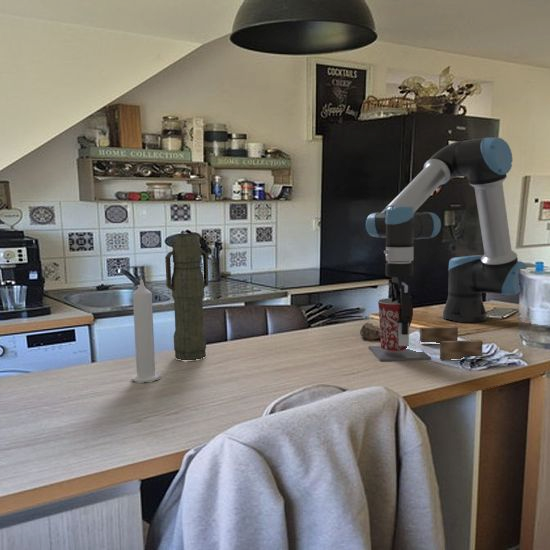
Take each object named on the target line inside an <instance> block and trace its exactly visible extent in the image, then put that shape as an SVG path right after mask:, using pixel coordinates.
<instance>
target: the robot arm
mask: <svg viewBox="0 0 550 550" xmlns="http://www.w3.org/2000/svg"><path fill="white" fill-rule="evenodd" d="M512 163H513V154H512V149H511V147H510V145H509V144H508V142H507V141H506V140H505V139H504V138H502V137H482V138H475V139H467V140H458V141H454V142H452V143H450V144H447V145H446V146H444V147H443V148H441V149H439V150H438V151H437V152H436V153H434V154H433V155H432V156H431V157H430V158H429V159H428V160H426V162H425V163H424V165H423V169H422V170H421V171H420V172H419V173H418V174H417V175H416V176H415V177H414V178H413V179H412V181H411V182H409V183H408V184H407V186H405V187H404V188H403V189H402V191H400V193H399V194H398V195H397V196H396V197H394V199H393V200H392V201H391V202H390V203H389V204H388V205H387V206H386V207H385V208H383V210H382V211H381V212H379V211H378V212H373V213H370V214H369V215H368V216H367V218H366V221H365V229H366V231H367V234H368V235H369V236H370V237H375V238H380V239H383V238H385V250H383V254H385V261H386V262H385V276H386V277H389V278H390V279H388V280H387V281H388V291H387V292H388V293H387V298H392V302H394V301H396V300H397V302H398V304H401V308H400V309H399V319H400V320H398V321H397V323H399V325H398V346H409V345H410V327H409V322H411V323H412V322H413V317H412V314H411V305H412V301H411V300H412V299H411V289H412V286H411V284H408V283H407V278H409V277H413V275H414V264H413V261H414V250H415V249H414V248H415V247H414V240H421V239H422V240H423V239H425V240H429V239H431V238H432V239H433V238H434V237H436V236H438V234H439V233H440V232H441V228H442V222H441V219H440V217H439V216H438V215H437V214H436V213H434V212H428V211H424V212H423V211H422V212H417V210H418V209H419V208H420V207H421V206H422V205H423V204H424V203H425V202H426V201H427V200H428V198H429V197H431V195H432V194H433V193H435V191H436V190H438V188H439V187H440V186H441V185H445V184H447V183H448V182H449V181H450V180H451V179H454V178H460V177H462V178H463V177H467V180H468V184H469V186H471V187H473V188H474V192H475V199H476V200H475V201H476V205H477V206H476V207H477V213H478V221H479V226H480V233H481V239H482V246H483V252H484V253H483V255H481V254H480V255H479V254H478V255H476V254H475V255H468V256H467V255H466V256H465V255H464V256H459V257H458V256H457V257H452V258H450V259H449V262H448V268H447V271H448V277H447V278H448V279H447V280H448V282H447V283H448V285H447V286H448V289H447V291H448V292H447V293H448V295H447V300H446V302H445V306H444V308H443V311H442V319H444V318H445V319H444V320H446V319H449V320H453V321H452V322H455V321H458V322H457V323H481V322H485V321H487V311H486V308H485V305H484V301H483V297H482V296H483V294H484V293H485V294H494V295H502V296H516V295H518V294H519V293H520V292H521V291H520V285H519V279H518V274H519V270H520V269H527V266H526V264H525V262H523V261H521V260H520V261H519V259H518V254H517V252H515V251H513V250H512V244H511V238H510V237H511V236H510V229H509V222H508V215H507V207H506V206H507V205H506V199H505V193H504V185H503V183H504V181H505V180H506V179H507V174H509V172H510V171H511V169H512V167H513V164H512ZM449 320H448V321H449Z"/></svg>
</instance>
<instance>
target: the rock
mask: <svg viewBox="0 0 550 550" xmlns="http://www.w3.org/2000/svg"><path fill="white" fill-rule="evenodd" d="M359 334H360V337H362V338H364V339H365V340H369V341H374V340H378V339H381V338H380V326H376V325H374V324H373V323H369V322H366V323H364V324H363V325H362V326H361V329H360V331H359Z"/></svg>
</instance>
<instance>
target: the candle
mask: <svg viewBox="0 0 550 550" xmlns="http://www.w3.org/2000/svg"><path fill="white" fill-rule="evenodd" d="M132 308H133V325H134V328H133V329H134V343H135V344H134V345H135V348H134V349H135V364H136V365H135V366H136V373H135V374H133V375H132V376H131V381H132V380H133V381H135V382H141V383H140V384H143V383H142V382H151V383H153V382H152V381H155V380H158V379H159V380H161V378H162V374H160V373H159V372H156V361H155V360H156V359H155V356H156V355H155V338H154V337H155V335H154V334H155V333H154V317H153V316H154V314H153V313H154V312H153V294H152V291H150V290H149V289H148V288H146V287H145V284H144V280H143V279H140V281H139V285H138V287H137V289H136V290H135V291H134V292H133V293H132ZM159 380H158V381H159ZM133 381H132V382H133ZM135 382H134V383H135ZM155 382H156V381H155Z"/></svg>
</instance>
